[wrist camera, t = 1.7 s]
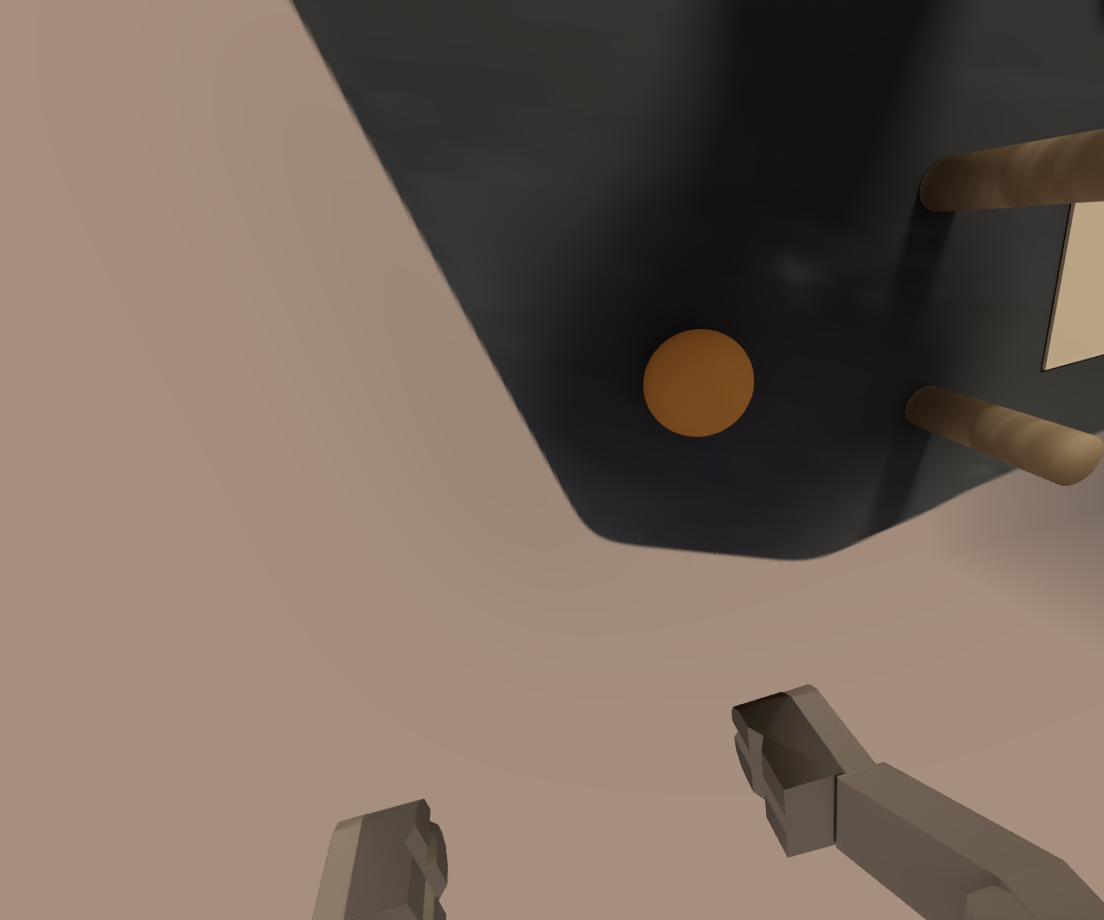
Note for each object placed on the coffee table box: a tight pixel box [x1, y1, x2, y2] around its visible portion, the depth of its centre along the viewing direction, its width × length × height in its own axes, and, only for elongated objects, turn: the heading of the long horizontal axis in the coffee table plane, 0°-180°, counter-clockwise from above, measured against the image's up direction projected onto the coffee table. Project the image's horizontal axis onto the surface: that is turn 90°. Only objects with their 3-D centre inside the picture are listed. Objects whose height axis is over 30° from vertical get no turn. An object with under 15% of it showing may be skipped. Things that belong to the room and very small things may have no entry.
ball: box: [643, 329, 754, 437], centre depth 27 cm, size 6×6×6 cm
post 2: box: [905, 385, 1103, 486], centre depth 28 cm, size 3×3×9 cm
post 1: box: [920, 129, 1104, 212], centre depth 23 cm, size 3×3×9 cm
